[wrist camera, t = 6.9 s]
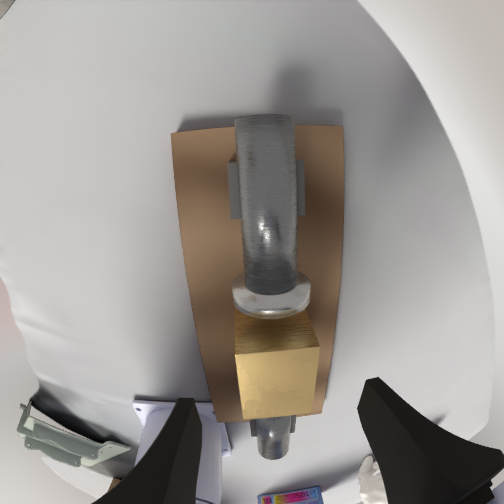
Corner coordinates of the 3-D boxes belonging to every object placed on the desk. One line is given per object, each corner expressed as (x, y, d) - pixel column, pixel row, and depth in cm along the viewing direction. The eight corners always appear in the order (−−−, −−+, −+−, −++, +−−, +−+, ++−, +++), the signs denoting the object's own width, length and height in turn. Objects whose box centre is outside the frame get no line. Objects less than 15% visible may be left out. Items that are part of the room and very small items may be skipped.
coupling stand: (319, 405, 22) (333, 456, 16) (217, 414, 22) (215, 468, 16) (336, 127, 14) (386, 118, 9) (174, 134, 14) (140, 125, 9)
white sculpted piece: (364, 514, 19) (451, 461, 19) (343, 466, 27) (421, 419, 27) (373, 517, 21) (449, 471, 21) (354, 476, 29) (423, 434, 29)
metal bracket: (10, 445, 19) (22, 423, 16) (15, 413, 23) (31, 377, 20) (96, 477, 26) (141, 463, 23) (96, 446, 31) (138, 422, 28)
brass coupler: (235, 292, 16) (235, 354, 11) (296, 288, 16) (320, 346, 11) (241, 354, 18) (243, 419, 13) (294, 350, 18) (311, 412, 13)
